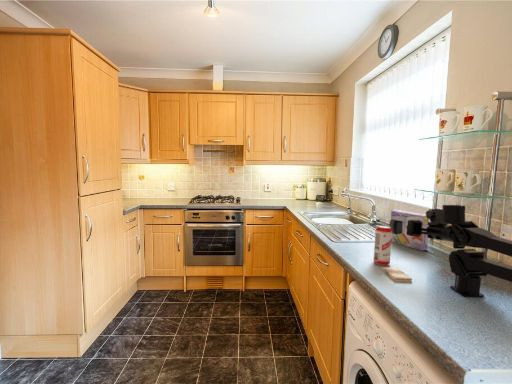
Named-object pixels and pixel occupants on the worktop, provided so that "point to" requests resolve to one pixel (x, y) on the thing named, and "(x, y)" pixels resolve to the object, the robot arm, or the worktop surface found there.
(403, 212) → the cake pan box
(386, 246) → the beer can
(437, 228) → the robot arm
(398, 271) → the chopping board
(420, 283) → the worktop surface
